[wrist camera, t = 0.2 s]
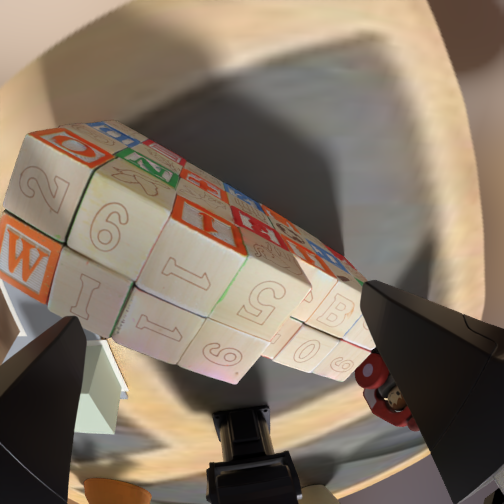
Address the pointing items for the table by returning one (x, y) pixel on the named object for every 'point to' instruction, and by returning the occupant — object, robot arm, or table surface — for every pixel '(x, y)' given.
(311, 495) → the plant pot
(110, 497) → the decorative plant
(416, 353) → the robot arm
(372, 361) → the toy fire truck
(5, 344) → the walnut block
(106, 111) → the table surface
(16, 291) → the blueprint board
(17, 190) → the stack of blocks
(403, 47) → the table surface
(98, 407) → the sage block
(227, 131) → the table surface
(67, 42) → the table surface
